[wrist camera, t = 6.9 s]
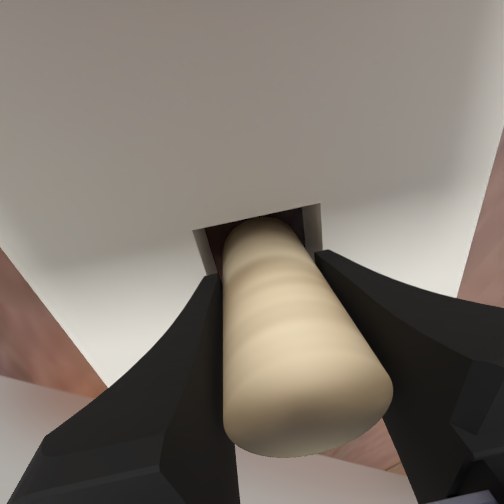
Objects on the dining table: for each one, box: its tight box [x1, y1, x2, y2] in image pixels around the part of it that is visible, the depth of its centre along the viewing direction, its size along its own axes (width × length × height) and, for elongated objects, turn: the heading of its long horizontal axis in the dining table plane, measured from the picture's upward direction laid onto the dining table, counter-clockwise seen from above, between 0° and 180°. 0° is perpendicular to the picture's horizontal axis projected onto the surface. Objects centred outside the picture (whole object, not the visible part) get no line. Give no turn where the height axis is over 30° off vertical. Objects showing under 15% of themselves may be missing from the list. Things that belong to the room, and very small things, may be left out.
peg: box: [223, 217, 393, 458], centre depth 9 cm, size 4×4×8 cm
